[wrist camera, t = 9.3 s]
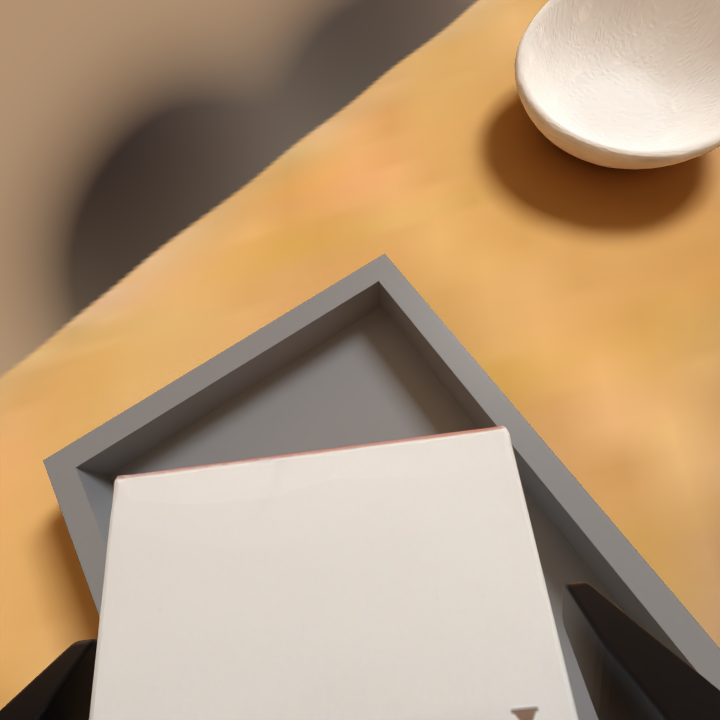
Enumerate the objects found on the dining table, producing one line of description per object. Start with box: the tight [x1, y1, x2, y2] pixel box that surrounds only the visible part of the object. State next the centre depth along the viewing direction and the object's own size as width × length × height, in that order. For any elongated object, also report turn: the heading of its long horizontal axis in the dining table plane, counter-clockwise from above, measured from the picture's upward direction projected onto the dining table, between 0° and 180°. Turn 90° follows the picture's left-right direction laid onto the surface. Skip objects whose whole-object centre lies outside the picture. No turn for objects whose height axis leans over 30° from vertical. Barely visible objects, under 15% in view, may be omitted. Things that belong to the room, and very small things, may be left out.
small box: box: [89, 426, 579, 720], centre depth 13 cm, size 8×6×10 cm
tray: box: [43, 254, 720, 720], centre depth 17 cm, size 20×16×3 cm
